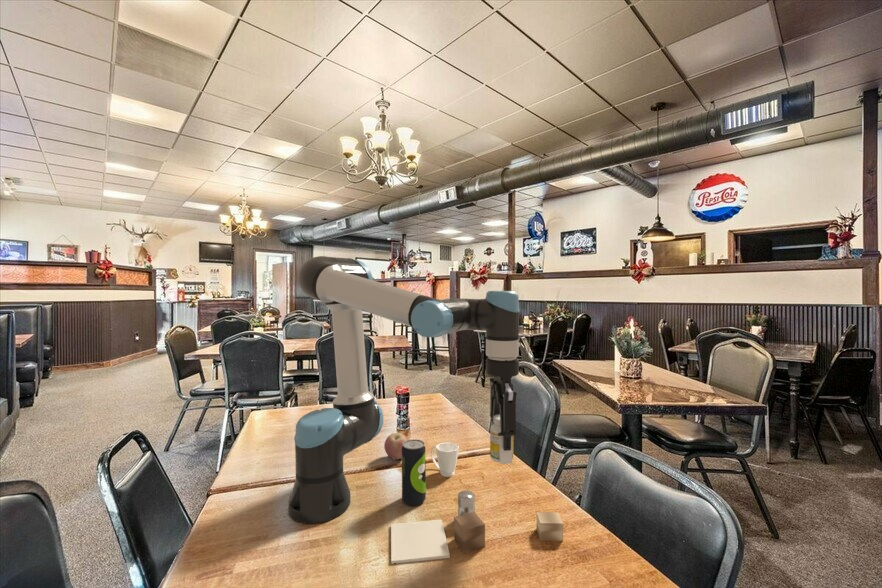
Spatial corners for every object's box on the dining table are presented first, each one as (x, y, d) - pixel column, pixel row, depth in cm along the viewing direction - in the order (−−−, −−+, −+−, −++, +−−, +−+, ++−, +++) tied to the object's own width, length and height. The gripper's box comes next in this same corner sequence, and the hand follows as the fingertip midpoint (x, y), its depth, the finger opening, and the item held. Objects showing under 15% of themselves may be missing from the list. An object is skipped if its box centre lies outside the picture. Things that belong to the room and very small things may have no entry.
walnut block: (464, 553, 78) (464, 530, 78) (454, 538, 83) (454, 516, 83) (485, 547, 80) (484, 524, 80) (474, 533, 85) (474, 511, 85)
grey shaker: (459, 525, 88) (459, 500, 87) (456, 515, 92) (456, 491, 91) (476, 524, 88) (476, 499, 88) (472, 514, 92) (472, 490, 92)
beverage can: (399, 496, 100) (399, 441, 100) (421, 492, 102) (421, 437, 102) (405, 509, 94) (405, 450, 94) (428, 504, 96) (428, 446, 96)
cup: (448, 481, 107) (448, 454, 107) (423, 470, 114) (423, 444, 114) (463, 472, 113) (463, 446, 112) (439, 462, 119) (439, 437, 119)
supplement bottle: (492, 464, 84) (493, 421, 84) (487, 453, 89) (488, 413, 89) (516, 463, 84) (516, 420, 84) (510, 452, 90) (510, 412, 89)
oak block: (540, 540, 82) (540, 523, 82) (536, 529, 86) (536, 512, 86) (563, 541, 82) (563, 523, 82) (558, 529, 86) (558, 512, 86)
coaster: (391, 564, 75) (391, 561, 75) (391, 526, 87) (391, 523, 87) (449, 557, 77) (449, 555, 77) (441, 521, 89) (441, 519, 89)
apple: (380, 462, 120) (380, 437, 120) (390, 452, 127) (390, 428, 127) (403, 465, 117) (403, 440, 117) (412, 455, 125) (412, 431, 125)
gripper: (532, 365, 78) (531, 475, 78) (506, 350, 96) (506, 439, 96) (497, 366, 77) (496, 477, 77) (477, 350, 95) (477, 441, 95)
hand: (501, 456), depth 87 cm, fingers closed on supplement bottle, 5 cm apart
